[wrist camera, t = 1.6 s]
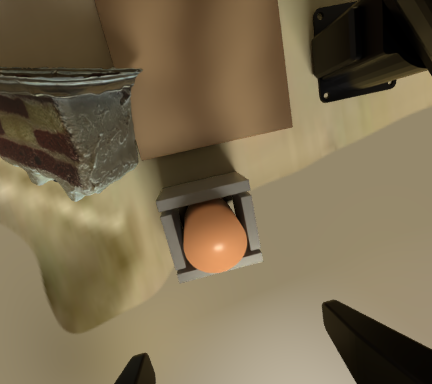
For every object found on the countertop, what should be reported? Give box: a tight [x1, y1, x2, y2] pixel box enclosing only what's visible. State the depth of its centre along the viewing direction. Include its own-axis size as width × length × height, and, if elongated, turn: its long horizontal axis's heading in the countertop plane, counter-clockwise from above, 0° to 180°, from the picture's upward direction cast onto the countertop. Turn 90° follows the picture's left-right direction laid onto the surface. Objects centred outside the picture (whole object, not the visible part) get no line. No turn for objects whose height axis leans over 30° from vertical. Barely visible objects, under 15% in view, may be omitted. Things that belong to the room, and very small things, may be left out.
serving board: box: [94, 0, 293, 161], centre depth 15 cm, size 12×11×1 cm
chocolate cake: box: [0, 67, 143, 201], centre depth 14 cm, size 10×7×12 cm
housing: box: [156, 171, 263, 283], centre depth 17 cm, size 6×6×4 cm
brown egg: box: [184, 198, 247, 273], centre depth 15 cm, size 4×4×4 cm
